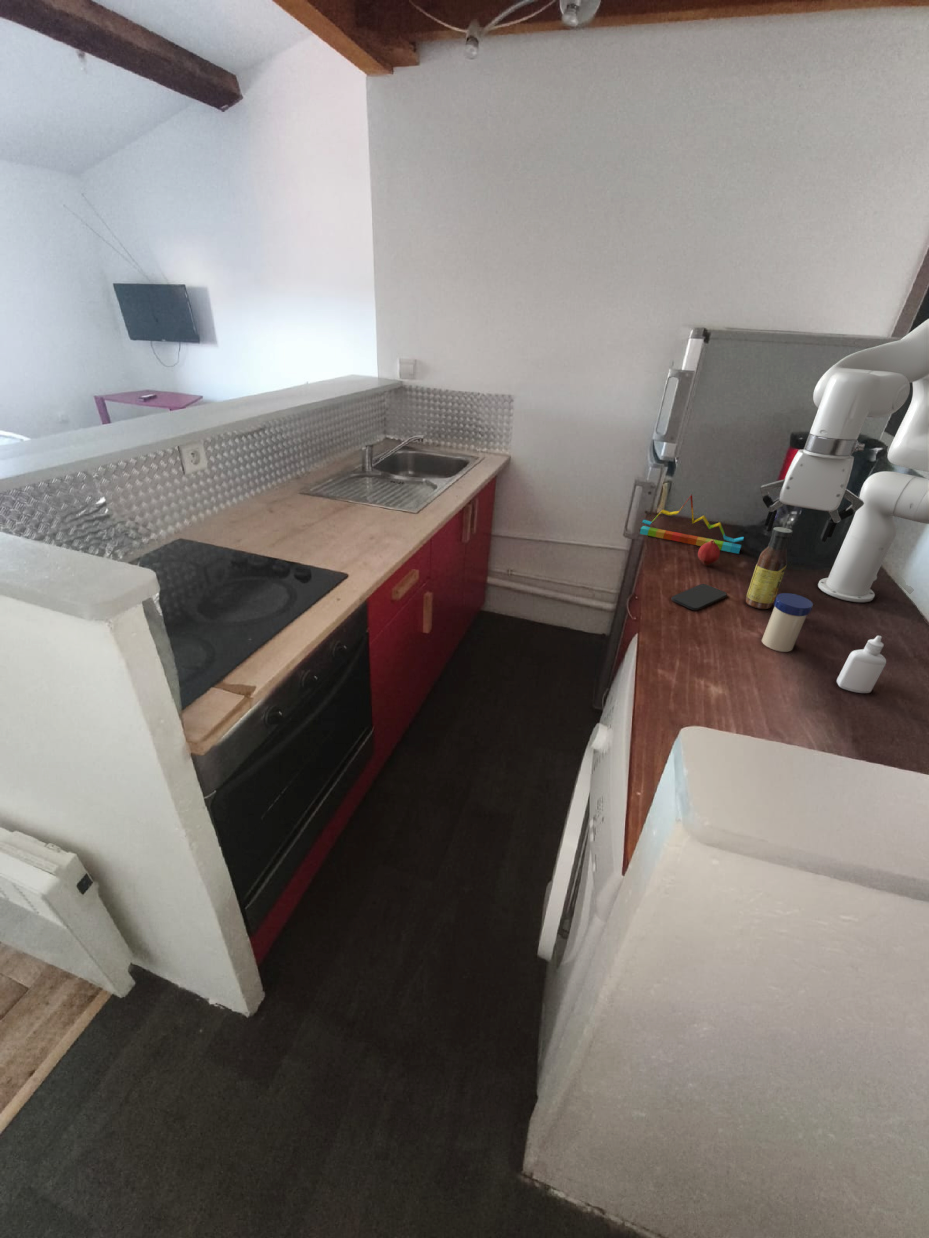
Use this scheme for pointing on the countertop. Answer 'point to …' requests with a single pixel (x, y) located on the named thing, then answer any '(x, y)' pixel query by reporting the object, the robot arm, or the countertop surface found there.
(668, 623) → the countertop surface
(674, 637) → the countertop surface
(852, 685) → the eye dropper bottle
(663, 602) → the countertop surface
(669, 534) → the chart
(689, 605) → the phone
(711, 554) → the onion
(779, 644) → the mayonnaise jar
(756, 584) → the sauce bottle
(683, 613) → the countertop surface
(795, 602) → the jar lid
